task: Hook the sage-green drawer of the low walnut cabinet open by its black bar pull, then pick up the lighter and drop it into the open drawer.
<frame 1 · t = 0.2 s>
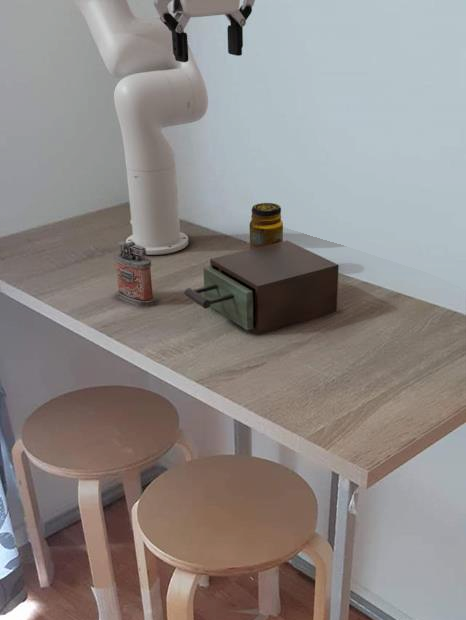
hand: (208, 57, 129), 37 cm above the table, tool pointing down, fingers open, 9 cm apart
lighter: (136, 300, 144), on the table
drawer: (247, 292, 135), point 4 cm above the table, slide at 0.5 cm
cabinet: (273, 308, 139), on the table
condiment: (262, 273, 153), on the table
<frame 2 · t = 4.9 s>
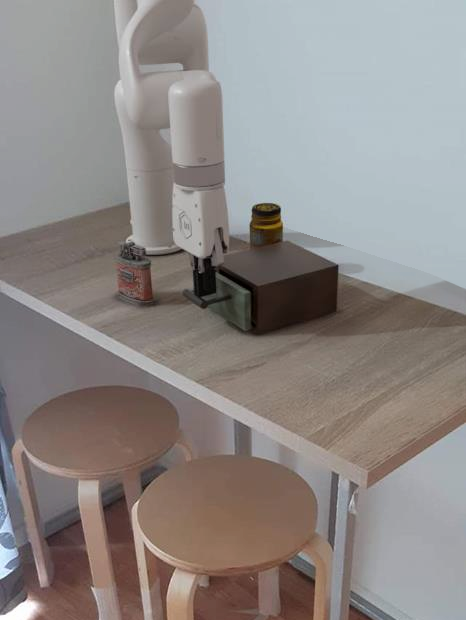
hand: (205, 293, 130), 6 cm above the table, tool pointing down, fingers closed
drawer: (245, 292, 135), point 4 cm above the table, slide at 0.9 cm, touching gripper
everything else where it was.
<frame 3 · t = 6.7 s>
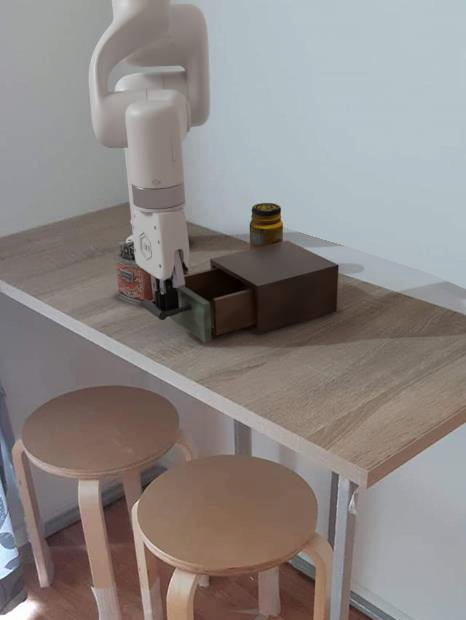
hand: (168, 314, 129), 4 cm above the table, tool pointing down, fingers closed
drawer: (207, 302, 132), point 4 cm above the table, slide at 8.2 cm, touching gripper
everything else where it was.
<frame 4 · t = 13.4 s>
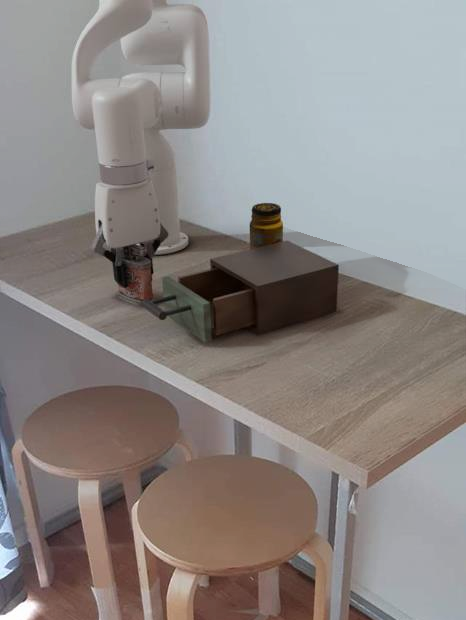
hand: (134, 281, 142), 3 cm above the table, tool pointing down, fingers closed on lighter, 4 cm apart
lighter: (136, 300, 144), on the table, touching gripper
drawer: (207, 302, 132), point 4 cm above the table, slide at 8.2 cm
everything else where it was.
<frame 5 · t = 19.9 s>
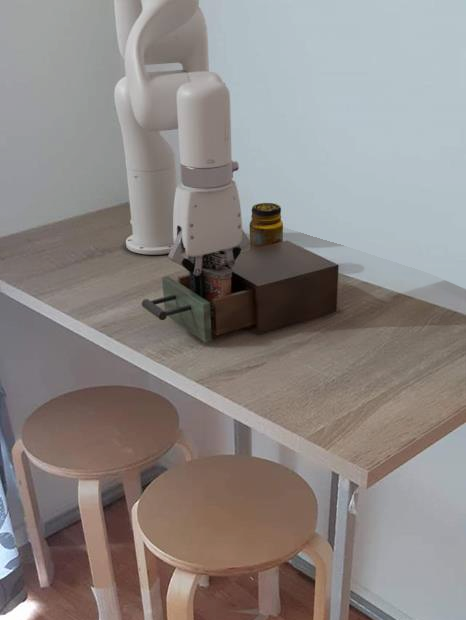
hand: (211, 291, 131), 6 cm above the table, tool pointing down, fingers closed on lighter, 4 cm apart
lighter: (212, 312, 133), point 2 cm above the table, touching gripper
everything else where it was.
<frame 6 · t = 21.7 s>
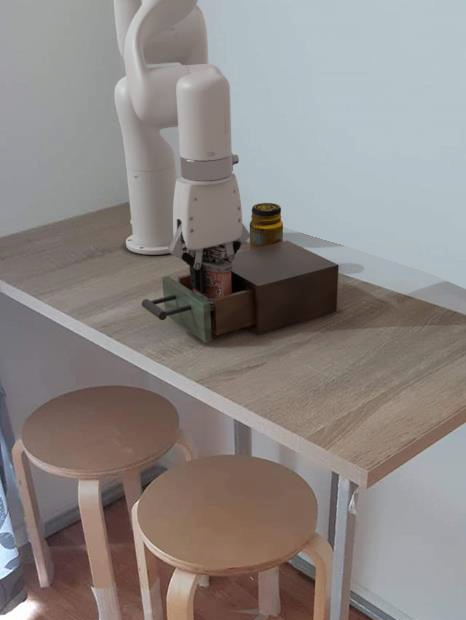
hand: (211, 286, 131), 7 cm above the table, tool pointing down, fingers closed on lighter, 4 cm apart
lighter: (212, 306, 133), point 3 cm above the table, touching gripper
everything else where it was.
when the fingers open (8 cm above the table, at t = 30.1 s): lighter drops 2 cm, resting on drawer.
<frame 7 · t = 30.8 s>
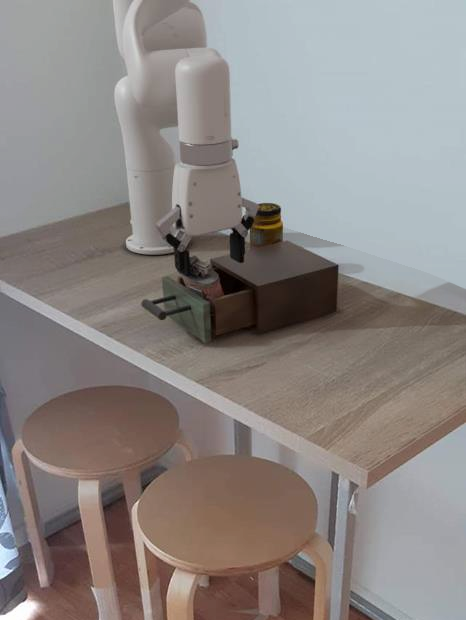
hand: (210, 267, 129), 10 cm above the table, tool pointing down, fingers open, 9 cm apart
lighter: (212, 310, 133), point 2 cm above the table, touching drawer, gripper
drawer: (206, 303, 132), point 4 cm above the table, slide at 8.2 cm, touching lighter
everything else where it was.
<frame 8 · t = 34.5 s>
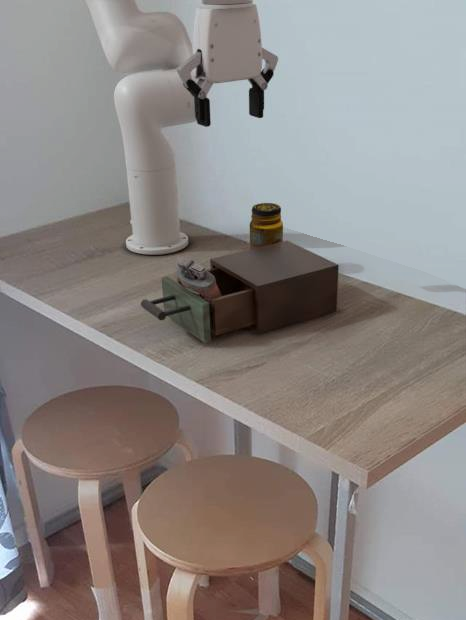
hand: (230, 120, 129), 28 cm above the table, tool pointing down, fingers open, 9 cm apart
lighter: (211, 310, 133), point 3 cm above the table, touching drawer
everything else where it was.
at the end: drawer slide at 8.3 cm; lighter inside the target area in the drawer (4.7 cm from its centre), point 2.6 cm above the cabinet's base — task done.
